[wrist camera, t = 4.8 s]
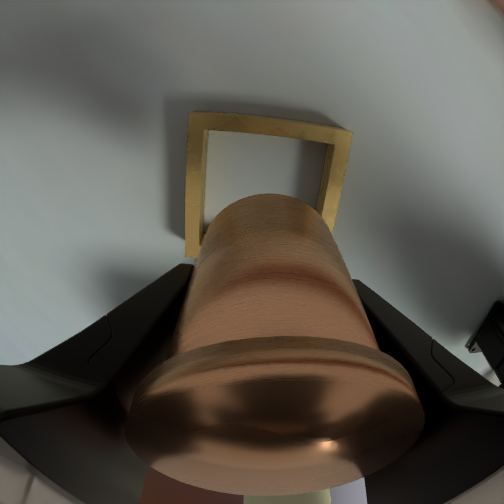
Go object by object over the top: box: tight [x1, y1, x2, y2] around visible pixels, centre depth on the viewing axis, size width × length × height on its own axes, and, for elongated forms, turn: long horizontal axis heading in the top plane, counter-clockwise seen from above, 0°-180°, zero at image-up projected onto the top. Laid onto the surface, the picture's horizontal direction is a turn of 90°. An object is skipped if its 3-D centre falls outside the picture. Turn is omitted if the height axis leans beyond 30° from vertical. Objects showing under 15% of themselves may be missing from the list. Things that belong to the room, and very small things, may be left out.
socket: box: [185, 111, 353, 258], centre depth 16 cm, size 8×8×2 cm
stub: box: [124, 194, 425, 496], centre depth 7 cm, size 5×5×7 cm
